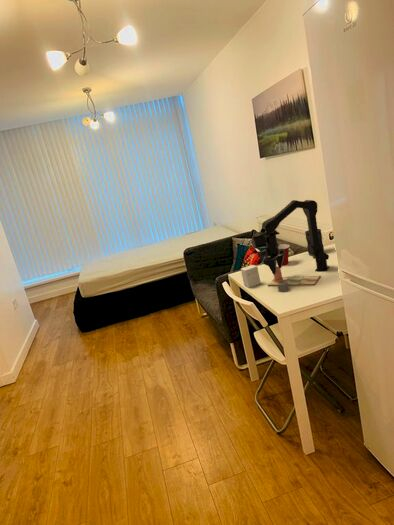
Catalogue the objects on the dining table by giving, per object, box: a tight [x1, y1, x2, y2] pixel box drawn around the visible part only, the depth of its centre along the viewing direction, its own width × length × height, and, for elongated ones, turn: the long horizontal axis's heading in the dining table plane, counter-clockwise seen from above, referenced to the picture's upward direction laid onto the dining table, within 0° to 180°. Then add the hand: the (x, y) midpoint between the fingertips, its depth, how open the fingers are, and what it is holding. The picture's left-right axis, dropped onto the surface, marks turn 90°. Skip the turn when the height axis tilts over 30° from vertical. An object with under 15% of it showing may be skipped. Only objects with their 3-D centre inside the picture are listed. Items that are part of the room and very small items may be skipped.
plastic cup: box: [278, 243, 291, 267], centre depth 240 cm, size 11×11×12 cm
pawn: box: [273, 266, 283, 282], centre depth 212 cm, size 5×5×8 cm
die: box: [277, 282, 290, 293], centre depth 199 cm, size 4×4×4 cm
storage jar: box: [304, 228, 325, 257], centre depth 246 cm, size 10×10×15 cm
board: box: [267, 275, 321, 287], centre depth 208 cm, size 12×26×1 cm, turn 58°
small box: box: [240, 264, 262, 289], centre depth 217 cm, size 8×6×10 cm
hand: (277, 271), depth 211 cm, fingers open, 9 cm apart
